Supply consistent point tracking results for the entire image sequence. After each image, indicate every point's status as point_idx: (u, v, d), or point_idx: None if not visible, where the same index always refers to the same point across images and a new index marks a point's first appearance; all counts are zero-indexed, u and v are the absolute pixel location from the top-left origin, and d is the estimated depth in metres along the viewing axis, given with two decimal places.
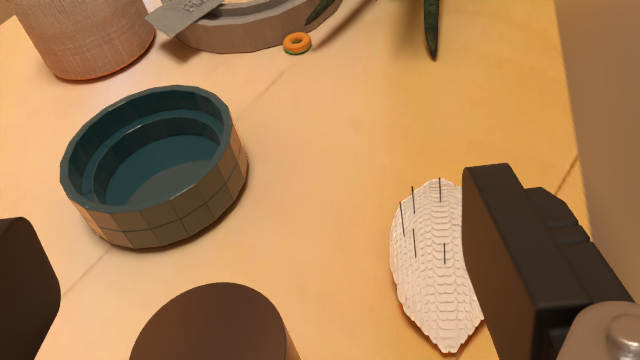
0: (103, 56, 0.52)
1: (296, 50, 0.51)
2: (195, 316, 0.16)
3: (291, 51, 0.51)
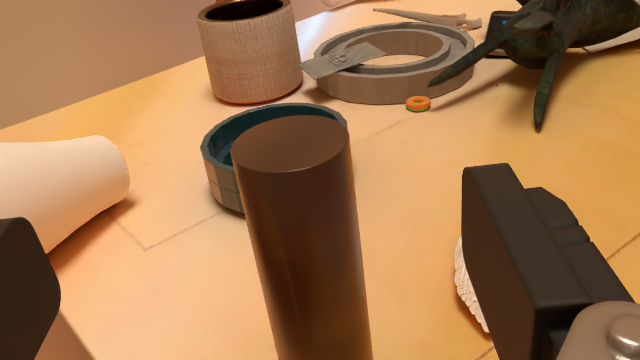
0: (257, 86, 0.63)
1: (416, 108, 0.58)
2: (288, 126, 0.22)
3: (411, 108, 0.58)
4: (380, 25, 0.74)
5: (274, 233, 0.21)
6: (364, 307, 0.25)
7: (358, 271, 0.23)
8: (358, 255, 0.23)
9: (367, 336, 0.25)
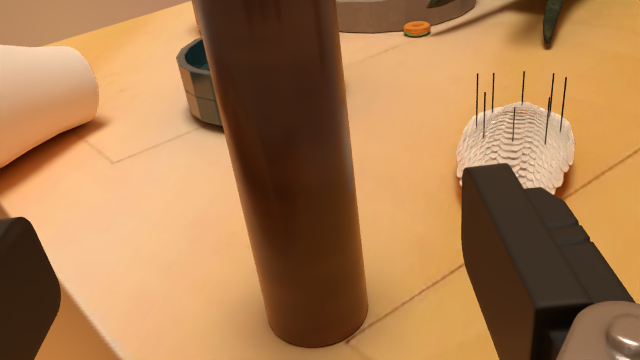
0: None
1: (414, 32, 0.53)
2: None
3: (410, 33, 0.54)
4: None
5: (230, 23, 0.17)
6: (348, 151, 0.20)
7: (339, 95, 0.19)
8: (339, 74, 0.19)
9: (352, 192, 0.21)
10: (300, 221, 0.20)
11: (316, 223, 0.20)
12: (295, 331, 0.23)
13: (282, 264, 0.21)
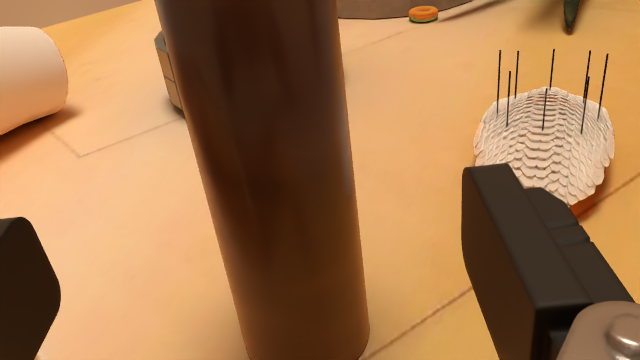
0: None
1: (421, 17, 0.49)
2: None
3: (415, 18, 0.49)
4: None
5: None
6: (344, 132, 0.15)
7: (333, 56, 0.14)
8: (333, 27, 0.14)
9: (350, 187, 0.16)
10: (282, 223, 0.15)
11: (303, 227, 0.15)
12: None
13: (260, 280, 0.16)
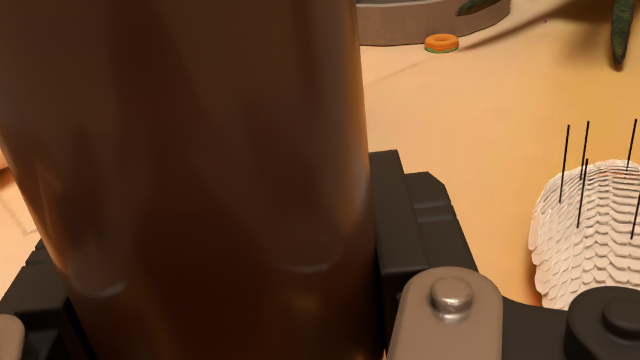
0: None
1: (439, 48, 0.42)
2: None
3: (433, 49, 0.42)
4: None
5: (21, 92, 0.05)
6: None
7: (363, 257, 0.07)
8: (363, 205, 0.07)
9: None
10: None
11: None
12: None
13: None
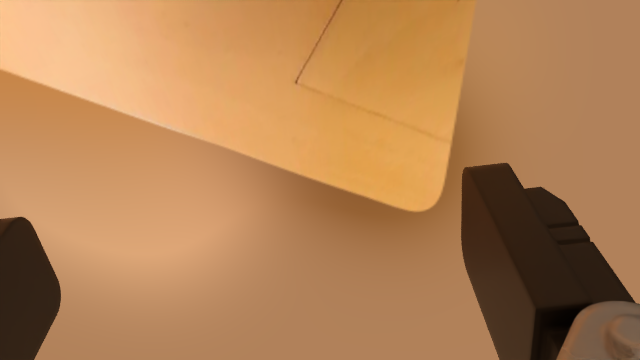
0: None
1: None
2: None
3: None
4: None
5: None
6: None
7: None
8: None
9: None
10: None
11: None
12: None
13: None
